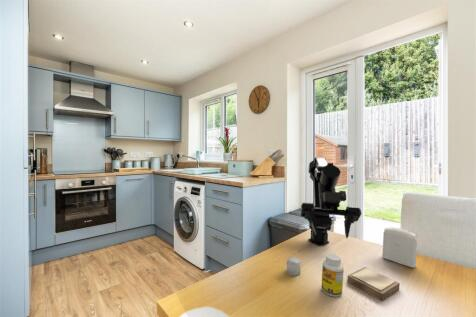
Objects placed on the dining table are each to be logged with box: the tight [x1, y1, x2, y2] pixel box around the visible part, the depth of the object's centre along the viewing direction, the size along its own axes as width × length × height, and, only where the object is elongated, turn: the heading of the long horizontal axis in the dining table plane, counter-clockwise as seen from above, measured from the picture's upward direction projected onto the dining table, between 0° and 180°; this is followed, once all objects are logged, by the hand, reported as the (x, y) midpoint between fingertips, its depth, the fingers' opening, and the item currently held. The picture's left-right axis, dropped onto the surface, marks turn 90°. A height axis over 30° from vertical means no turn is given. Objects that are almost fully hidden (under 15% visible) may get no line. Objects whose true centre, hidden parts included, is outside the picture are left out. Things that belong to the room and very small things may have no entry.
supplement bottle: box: [321, 253, 345, 298], centre depth 63 cm, size 6×6×10 cm
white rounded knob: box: [286, 257, 302, 277], centre depth 73 cm, size 4×4×4 cm
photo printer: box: [382, 226, 418, 269], centre depth 82 cm, size 10×4×12 cm, turn 39°
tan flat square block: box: [346, 266, 400, 302], centre depth 67 cm, size 10×10×2 cm
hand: (331, 235), depth 71 cm, fingers open, 9 cm apart
